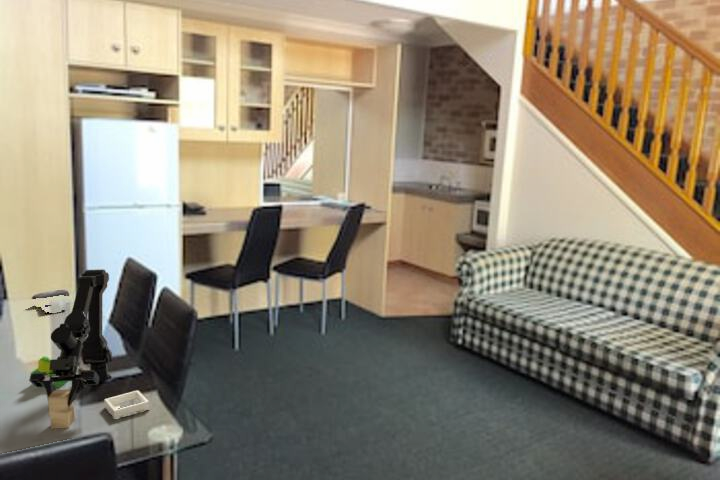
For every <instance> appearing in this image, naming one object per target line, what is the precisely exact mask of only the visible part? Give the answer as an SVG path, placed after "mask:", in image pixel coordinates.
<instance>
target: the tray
mask: <svg viewBox="0 0 720 480" xmlns="http://www.w3.org/2000/svg"><path fill="white" fill-rule="evenodd" d="M136 398H137V399H138V400H139V401H140V402H141V403H138V404H134V405H130V406H127V407H123V408H120V403H122V402H125V401H128V400H132V399H136ZM104 408H105V410H106V409H107V410H108V411H109V412H108V411H107V410H106V411H107V412H108V413H109V415H110V414H111V415H112V416H113V417H114V418H117V417H120V416H122V415H125V414H128V413H131V412H136V411H140V410H143V409H147V408H149V409H150V401H149V400H148V399H147V398H146V397H145V396H144V394H142V392H141V391H140V390H139V389H138V390H133V391H130V392H126V393H122V394H118V395H116V396H112V397H108V398H107V397H106V398H104ZM118 408H120V409H118ZM111 415H110V416H111ZM112 416H111V417H112ZM113 417H112V418H113ZM114 418H113V419H114Z"/></svg>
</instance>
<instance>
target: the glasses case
mask: <svg viewBox="0 0 720 480" xmlns="http://www.w3.org/2000/svg"><path fill="white" fill-rule="evenodd" d="M59 295H64V296H69V297H70V292H69V291H68V290H66V289H57V290H50V291H45V292H40V293H36V294H34V295H32V297H31V299H36V298H47V297H53V296H59Z"/></svg>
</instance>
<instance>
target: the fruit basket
mask: <svg viewBox="0 0 720 480" xmlns="http://www.w3.org/2000/svg"><path fill="white" fill-rule="evenodd" d="M50 360H53V359H51V358H49V357H48V356H42V357H41V358H39V360H38V362H37V365H38V366H37V367H38V368H36V369H34V370H32V371H31V372H30V373H29V374H30V375H31V374H32V373H34V372H46V373H47V374H48V375H50V376H53V375H56V374H55V373H53V372H52V371H53V370H49V367H50ZM66 382H68V381H63V382H54V386H55V387H56V388H57V387H58V388H60V387H62V386H64V384H67V383H66Z"/></svg>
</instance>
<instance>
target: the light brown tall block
mask: <svg viewBox="0 0 720 480" xmlns="http://www.w3.org/2000/svg"><path fill="white" fill-rule="evenodd" d="M70 391H71V388H70V389H67V388H65V389H56V390H54V391H53V392H52V393H51V395H50V396H49V397H47V403H49V404H48V410H49V411H48V412H49V419H50V429H52V430H53V429H66V428H70V426H71V425H72V424H73V423H74V421H75V419H76V418H75V417H76V416H75V408H74V401H73V402H72V404H71V405H70V406H68V399H69V395H70Z"/></svg>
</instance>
